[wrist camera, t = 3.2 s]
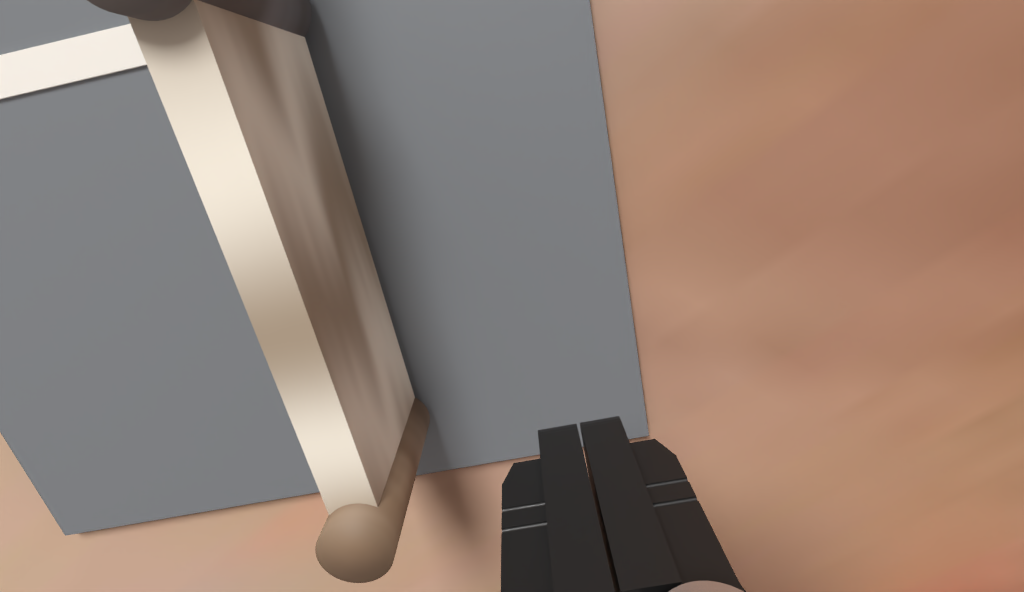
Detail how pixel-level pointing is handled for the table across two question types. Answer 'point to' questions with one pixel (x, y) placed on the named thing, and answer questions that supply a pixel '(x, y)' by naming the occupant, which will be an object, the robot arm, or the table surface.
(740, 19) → the table surface
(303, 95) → the swinging fence section
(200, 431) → the card
